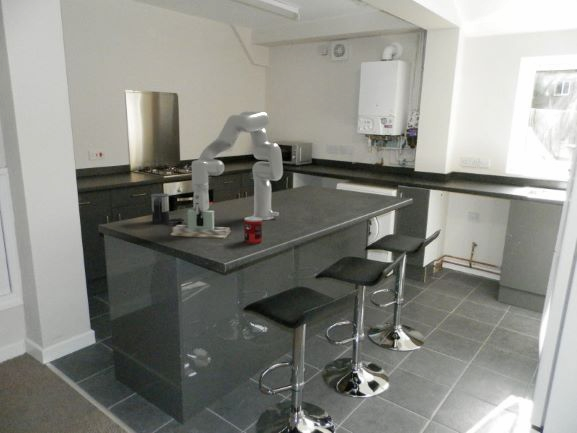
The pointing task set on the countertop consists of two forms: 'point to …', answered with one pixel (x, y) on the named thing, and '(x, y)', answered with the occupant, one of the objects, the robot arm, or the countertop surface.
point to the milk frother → (161, 209)
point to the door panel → (207, 220)
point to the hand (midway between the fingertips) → (201, 224)
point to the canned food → (252, 230)
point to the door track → (200, 232)
